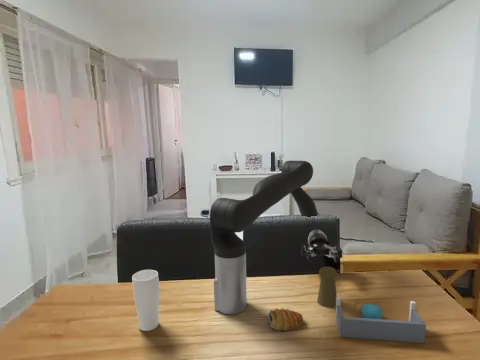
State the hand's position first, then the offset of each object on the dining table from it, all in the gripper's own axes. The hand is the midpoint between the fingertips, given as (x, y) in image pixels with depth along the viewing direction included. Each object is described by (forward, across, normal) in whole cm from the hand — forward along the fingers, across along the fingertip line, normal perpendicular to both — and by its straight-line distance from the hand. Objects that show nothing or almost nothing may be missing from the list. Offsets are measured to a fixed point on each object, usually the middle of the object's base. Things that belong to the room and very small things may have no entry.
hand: (323, 259), depth 102 cm
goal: (+24, +11, +8) cm, 27 cm away
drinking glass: (+29, -50, +8) cm, 59 cm away
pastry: (+23, -14, +9) cm, 28 cm away
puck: (+18, +11, +9) cm, 23 cm away
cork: (+12, 0, +9) cm, 14 cm away
